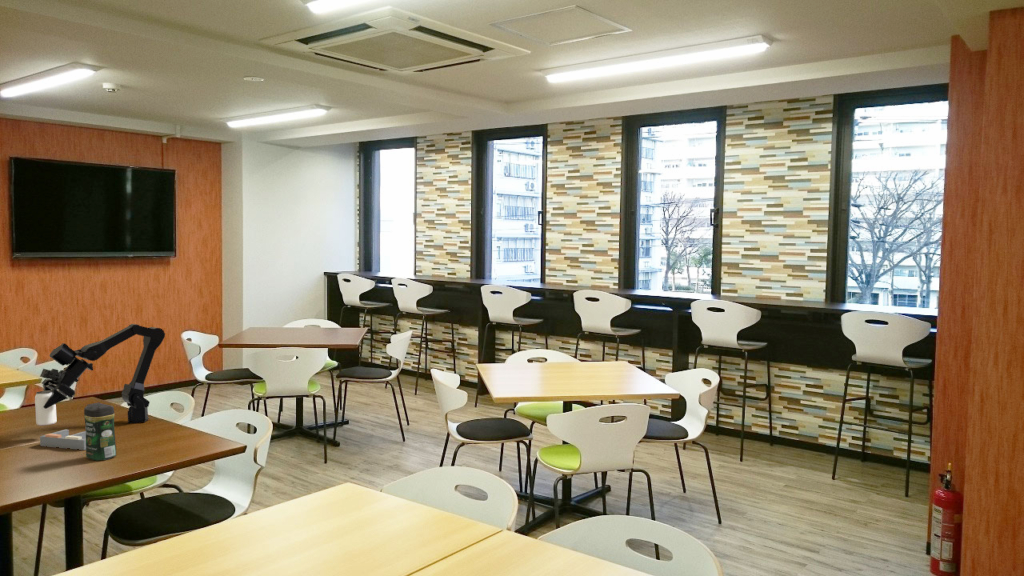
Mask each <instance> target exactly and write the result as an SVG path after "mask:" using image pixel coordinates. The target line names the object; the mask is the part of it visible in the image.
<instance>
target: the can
mask: <svg viewBox="0 0 1024 576" xmlns="http://www.w3.org/2000/svg"><path fill="white" fill-rule="evenodd" d="M51 395H52V391H44V390H42V391H36V392H35V396H34V405H35V406H34V407H35V408H34V409H35V423H36V425H37V426H50V425H54V424H56V423H57V420H58V419H57V406H56V405H57V403H56V404H54V405H52V406H50V407H48V408H46V409H45V408H44V405H45V403H46V402H47V401H48V399H49V398H50V396H51Z"/></svg>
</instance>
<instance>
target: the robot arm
mask: <svg viewBox="0 0 1024 576" xmlns="http://www.w3.org/2000/svg"><path fill="white" fill-rule="evenodd" d="M135 335H137V336H142V337H143V339H142V342H143V343H142V345H143V348H142V351H141V353H140V357H139V358H138V359H139V360H138V362H137V365H136V367H135V371H134V373H133V376H132V379H131V381H130V382H129V383H124V386H123V389H122V391H121V392H120V394H121V399H122V400H123V402H124V403H126V404H127V406H128V411H127V424H138V422H144V423H146V422H147V421H149V420H150V419H149V418H150V417H149V411H148V408H149V405H150V402H151V401H149V400H148V399H147V398H145V397H144V396H145V382H146V381H145V380H146V378H147V375H148V373H149V371H150V367H151V364H152V361H153V358H154V356H155V353H156V351H157V349H158V348H159V347H160V346H161V344H162V343H163V341H164V340H165V337H166V332H165V330H164V329H163V328H160V327H154V326H150V327H146V326H142V325H140V324H136V323H131V324H129V325H127V326H126V327H124V328H122V329H121V330H119V331H117V332H115V333H114V334H111V335H110V336H108V337H106V338H103V339H102V340H99V341H95V342H92V343H89V344H86V345H84V346H82V347H81V348H80V349H75V350H74V349H72V348H71V347H69V345H68V344H67V343H65V342H63V343H61V344H60V345H58V346H57V347H55V348H54V349H53V350H52V351H51V352H50V353H49V357H50V359H52V360H54V361H55V362H57V363H58V365H61V366H66V367H65V369H63V370H62V369H61V370H58V369H56V368H51V370H50V369H45V368H42V371H41V373H40V375H39V377H41V378H43V380H42V382H41V385H42V387H43V388H42V389H43V391H52V395H51V396H50V398H49V399H48V401H47V402H46V403H45V405H44V408H45V409H46V408H48V407H50V406H52V405H54V404H56V405H57V404H58V403H60V402H62V401H64V400H67V399H68V398H70V399H73V397H74V396H75V395H76V390H74V389H73V388H71V387H72V386H73V384H74V383H78V382H79V378H80V377H81V376H82V374H83V373H85V371H86V370H88V371H94V366H93V365H94V363H92V362H95V361H97V360H99V359H100V358H102V357H103V356H104V355H105V354H106V353H107V352H108V351H109V350H110V349H112V348H114V347H115V346H117V345H120V344H121V343H123V342H124V341H126V340H128V339H130V338H132V337H134V336H135ZM79 358H82V359H79ZM88 361H90V362H88ZM148 419H149V420H148ZM145 421H146V422H145Z"/></svg>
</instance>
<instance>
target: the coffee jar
mask: <svg viewBox="0 0 1024 576" xmlns="http://www.w3.org/2000/svg"><path fill="white" fill-rule="evenodd" d="M115 415H116V414H115V407H114V406H113V405H111V404H106V403H105V404H104V403H101V402H94V403H89V404H88V403H87V405H85V407H84V410H83V417H84V425H85V426H84V427H85V431H86V450H85V457H86V458H87V459H89V460H93V461H95V462H96V461H106V460H110V459H112V458H114V457H116V456H117V446H116V445H117V444H116V432H115V431H116V430H115Z"/></svg>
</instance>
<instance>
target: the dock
mask: <svg viewBox="0 0 1024 576" xmlns="http://www.w3.org/2000/svg"><path fill="white" fill-rule="evenodd" d="M39 444H40V445H39V446H40V447H46V446H47V447H48V448H56V447H59V448H58V449H67V448H70V449H69V450H77V449H79V450H80V451H86V430H84V431H80V432H77V433H73V434H70V430H69V429H61V430H59V431H54V432H52V433H51V432H50V433H46V434H43V435H40V436H39ZM79 450H78V451H79Z"/></svg>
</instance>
